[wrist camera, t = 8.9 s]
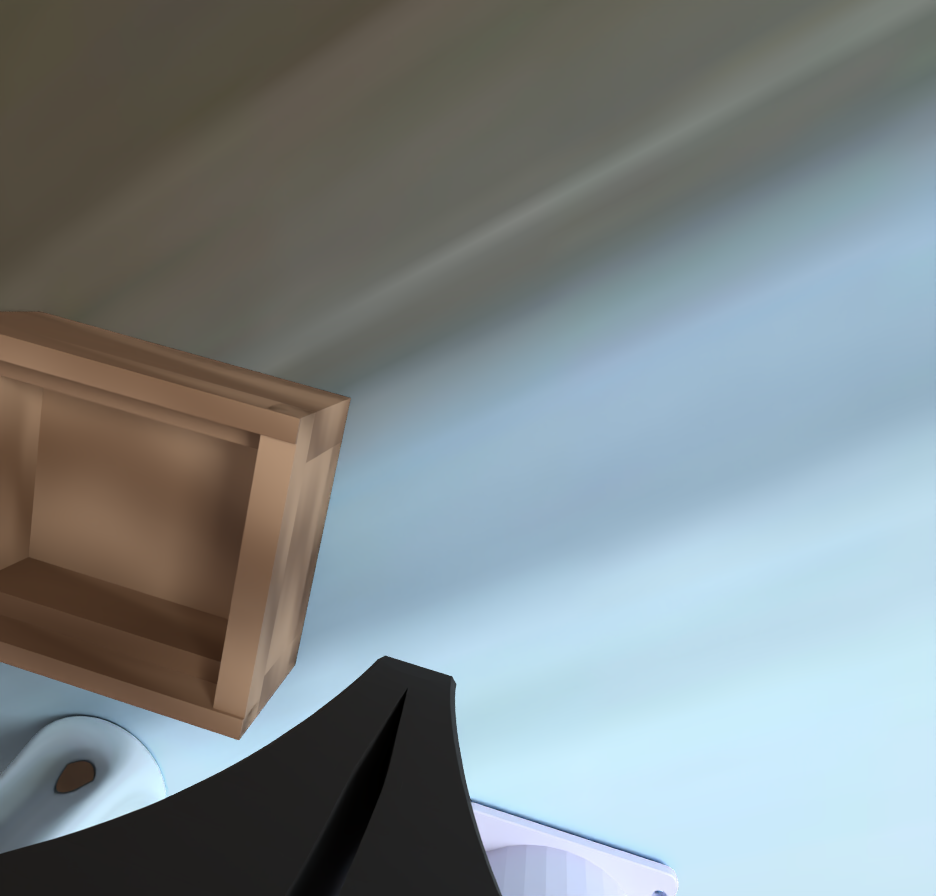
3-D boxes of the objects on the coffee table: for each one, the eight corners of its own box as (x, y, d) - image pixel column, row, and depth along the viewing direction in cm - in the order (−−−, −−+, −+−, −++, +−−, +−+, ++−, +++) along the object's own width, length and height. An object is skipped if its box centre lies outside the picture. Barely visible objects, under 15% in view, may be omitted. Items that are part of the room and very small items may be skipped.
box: (295, 664, 22) (238, 740, 19) (18, 577, 23) (-92, 631, 19) (350, 397, 20) (300, 418, 16) (40, 311, 21) (-80, 311, 17)
